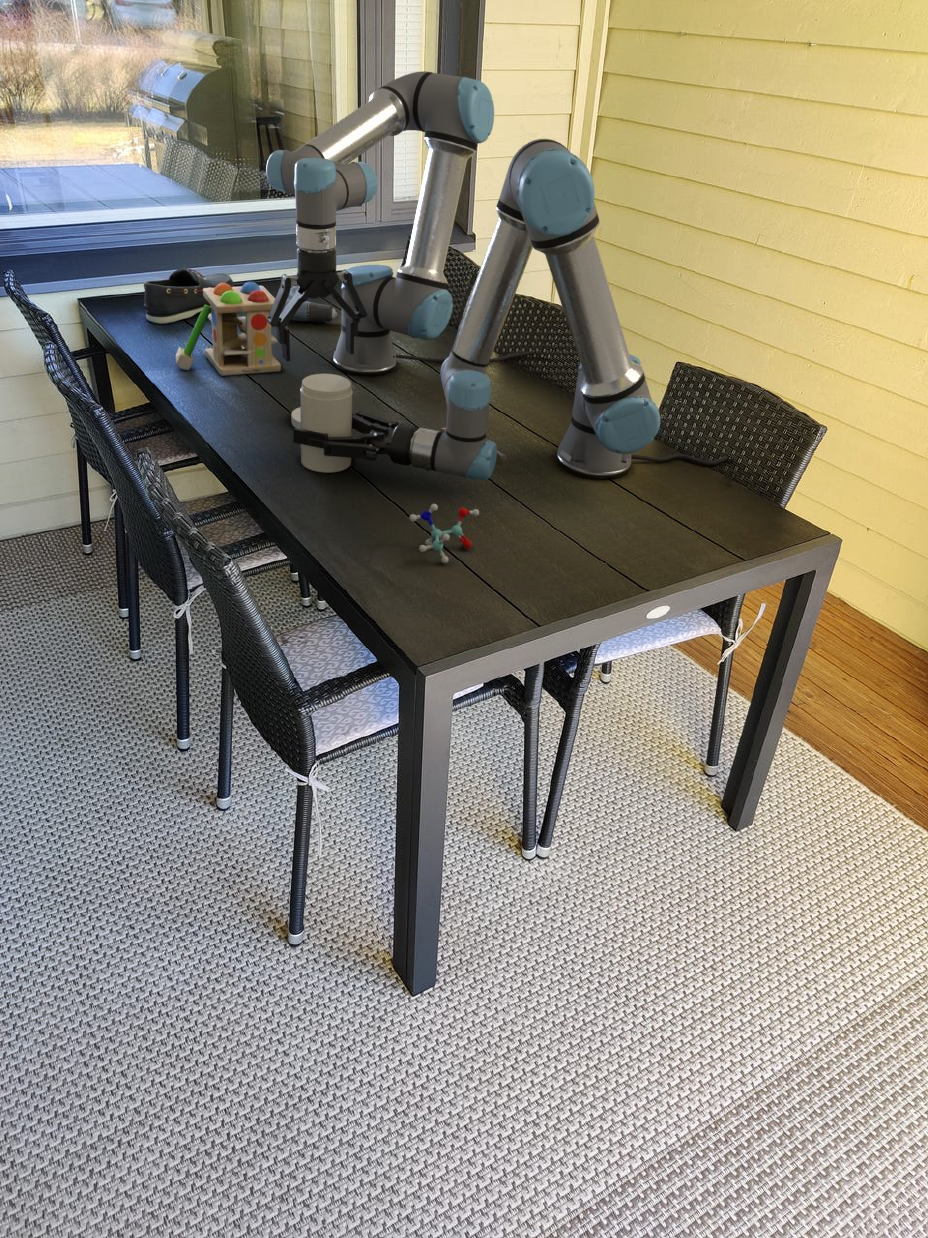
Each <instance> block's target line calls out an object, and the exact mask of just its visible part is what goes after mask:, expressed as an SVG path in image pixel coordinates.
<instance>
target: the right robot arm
mask: <svg viewBox="0 0 928 1238" xmlns="http://www.w3.org/2000/svg"><path fill="white" fill-rule="evenodd" d="M595 193H596V192H595V184H594V180H593V177H592V175H591V172H590V170H589V168H588V167H587V165H586V164H585V163H584V161H582V160H581V159H580V158H579V157H578V156H577V155H576V154H574V153H572V152H571V151H570V150H569V149H568V148H567V147H566V146H565V145H564V144H562V142H559V141H557V140H555V139H550V138H538V139H534V140H530V141H529V142H527V143H526V144H523V146H522V147H521V148H519V149H518V150H517V152H516V153H514V156H513V157H512V159H511V161H510V163H509V165H508V169H507V171H506V175H505V178H504V182H503V185H502V188H501V190H500V194H499V198H498V199H497V200H498V201H497V203H496V206H495V210H496V212H497V215H498V218H497V221H496V223H495V226H494V229H493V233H492V235H491V237H490V241H489V243H488V246H487V249H486V252H485V254H484V257H483V260H482V263H481V266H480V269H479V272H478V274H477V277H476V280H475V283H474V286H473V289H472V292H471V293H470V297H469V300H468V302H467V304H466V308H465V311H464V313H463V317H462V320H461V322H460V325H459V328H458V331H457V334H456V336H455V339H454V342H453V345H452V347H451V351H450V352H449V356H447V357H446V358H445V359H446V360H445V361H444V362H442V364H441V367H440V374H439V376H440V383H441V386H442V390H443V393H444V397H445V402H446V432H441V430H438V429H437V430H436V429H431V428H427V427H419V428H418V427H417V426H415V425H410V424H405V423H400V422H398V421H393V420H388V419H385V418H382V417H379V416H376V415H373V414H370V413H368V412H364V411H361V410H355V413H352V430H354V431H356V432H359V433H360V435H356V436H355V435H354V436H353V435H352V436H350V437H328V434H327V433H326V434H323V433H318V432H313V431H308V430H303V429H298V428H295V427H294V428H293V429H292V431H293V435H292V436H293V437H292V438H293V443H294V444H299V445H301V444H303V445H308V446H313V447H318V448H323V449H324V455H325V456H334V457H347V458H351V459H360V460H367V461H371V462H376V461H377V459H378V457H377V456H378V455H388V456H389V458H390V461H391V462H392V463H393V464H396V465H402V466H407V467H409V466H411V465H412V467H413V468H417V469H421V470H425V471H426V472H430V471H433V472H438V473H442V474H446V475H452V476H456V477H459V478H464V479H466V480H467V479H469V480H475V481H488V479H490V478H491V476H492V475H493V472H494V470H495V468H496V467H495V466H496V462H497V455H498V454H497V451H498V446H497V444H496V442H495V441H492V440H490V439H487V428H488V427H487V426H488V419H489V411H490V403H491V400H492V394H491V388H492V385H491V384H492V382H491V379H490V377H489V376H488V375H486V372H487V370H488V366H489V365H490V362H489V361H490V359H492V357H493V353H494V352H495V351H494V350H495V347H496V345H497V343H498V340H499V337H500V335H501V333H502V329H503V327H504V324H505V322H506V319H507V316H508V314H509V311H510V308H511V306H512V305H513V301H514V298H515V295H516V293H517V291H518V287H519V285H520V283H521V280H522V277H523V274H524V271H525V269H526V267H527V264H528V262H529V259H530V256H531V254H532V251H533V250H535V251H538V252H539V253H542V254H544V256H545V258H546V259H545V260H546V263H547V264H548V267H549V270H550V271H549V272H550V274H551V277H552V279H553V283H554V286H555V289H556V292H557V295H558V299H559V301H560V305H561V307H562V310H563V314H564V316H565V320H566V322H567V325H568V329H569V332H570V335H571V337H572V341H573V344H574V347H575V351H576V353H577V357H578V359H579V366H578V368H577V371H578V372H577V379H576V385H575V391H574V392H575V393H574V398H573V405H572V412H571V413H572V414H571V420H570V424H569V426H568V428H567V430H566V432H565V434H564V436H563V438H562V440H561V442H560V444H559V446H558V448H557V451H556V457H555V459H556V463H557V464H558V465H559V466H560V467H561V468H562V469H563V470H565V471H567V472H569V473H570V474H573V475H576V476H580V477H583V478H587V479H593V480H612V479H619V478H621V477H624V476H626V475H627V474H628V473H629V472H630V471H631V467H632V466H631V465H632V460H640V461H647V462H655V463H662V462H663V463H664V462H667V461H670V460H675V459H681V460H687V461H690V462H693V463H696V464H699V465H702V466H716V465H719V464H721V463H722V462H725V461H726V460H728V461H730V462H731V463H737V460H736V459H735V458H734V457H733V458H734V459H733V458H731V459H727V456H726V455H723V456H721V457H720V458H717V459H714V460H703V459H699V458H697V457H695V456H691V455H688V454H683V453H674V454H669V455H666V456H662V457H655V456H648V455H640V454H633V453H636V452H639V451H641V450H643V449H644V448H646V447H647V446H649V445H650V444H651V443H652V442H653V441H654V438H655V437H656V436H657V434H658V432H659V430H660V428H661V414H660V409H659V407H658V406H657V404H656V403H655V401H653V399H652V395H651V393H650V390H649V385H648V382H647V380H646V375H645V372H644V369H643V367H642V365H641V360H640V359H639V357H637V356H635V355H633V354H630V351H629V349H628V345H627V342H626V339H625V338H626V337H625V335H624V332H623V328H622V325H621V321H620V318H619V315H618V311H617V307H616V305H615V301H614V297H613V295H612V291H611V288H610V284H609V280H608V278H607V274H606V270H605V267H604V265H603V261H602V258H601V254H600V251H599V247H598V244H597V239H596V238H595V234H596V232H597V230H598V228H599V226H600V225H601V224H600V223H601V221H600V217H599V213H598V210H597V207H596V203H595Z"/></svg>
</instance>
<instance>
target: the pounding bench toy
mask: <svg viewBox="0 0 928 1238" xmlns="http://www.w3.org/2000/svg"><path fill="white" fill-rule="evenodd" d="M203 296H204V297H205V299H206V300H207V301H208V302H209V304H210V305H211V307H210V306H208V305H204V307H203V309H202V311H200V313H199V316H198V318H197V320H196V322H195V324H194V327H193V329H192V331H191V332H190V333H191V334H190V336H189V338H188V340H187V343H186V344H185V347H184V348H182V347H180V346H179V347H178V349H177V351H176V354H175V357H174V358H175V362H176V365H177V366H178V368H179V369H182V370H185V371H189V370H190V369H191V367H192V365H193V363H194V356H193V351H194V348H195V347H196V345H197V342H198V340H199V337H200V336H201V333H202V332H203V329H204V326H205V325H206V322H207V320H209V321H210V322H211V336H212V337H211V338H212V339H211V340H212V348H205V349H204V352H205V353H204V355H205V357H206V359H208V361H209V363H210V364H211V365H212V366H213V367H214V369H215V370H216V371H217V372H218V374H219V375H220V376H222V377H223V376H234V375H235V376H236V375H246V374H247V375H250V374H262V373H275V372H281V370H282V364H281V363H280V362H279V360H278V359H277V358H276V357H275V356H274V355H273V348H272V347H273V345H272V344H276V343H279V342H278V340H277V337H275V336H274V334H272V326H271V325H270V324H269V323H268V322H267V317H268V315H269V312H270V310H271V308H272V305H273V303H274V300H275V298H276V297H274V296H273V295H272V294H271V293H270V292H269V290H268V289H267V288H266V287H264V285H259V284H257V283H256V282H255V281H247V282H245V283H244V284H243V285H242V286H234V287H231V286H230V285H228V284H226V283H221V284H218V285H217V286H216V287H215V288H204V289H203ZM238 313H244V314H245V315H244V316H238ZM238 329H239V331H240V333H239V334H238Z"/></svg>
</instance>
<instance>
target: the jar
mask: <svg viewBox="0 0 928 1238" xmlns="http://www.w3.org/2000/svg"><path fill="white" fill-rule="evenodd" d="M299 389H300V390H299V400H300V401H299V403H300V405H299V407H300V411H301V429H303V430H308V431H313V432H318V433H323V434H326V433H327V434H328V437H350V436H353V429H352V414H353V402H354V401H353V397H354V396H353V394H354V393H353V388H352V382H351V381H350V380H349V379H348V378H346V377H344V376H342V375H338V374H334V373H315V374H310V375H307V376H306V377H304V378H303V379H302V381H301V387H300V388H299ZM300 463H301V464H302V466H303V467H304V468H306V469H307V470H311V471H312V472H317V473H337V472H342V471H344V470H347V469H348V468H349V467H350V466H351V465H352V458H347V457H334V456H325V455H324V449H323V448H318V447H313V446H308V445H303V444H300Z"/></svg>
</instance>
